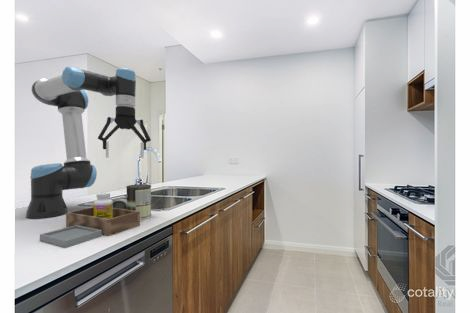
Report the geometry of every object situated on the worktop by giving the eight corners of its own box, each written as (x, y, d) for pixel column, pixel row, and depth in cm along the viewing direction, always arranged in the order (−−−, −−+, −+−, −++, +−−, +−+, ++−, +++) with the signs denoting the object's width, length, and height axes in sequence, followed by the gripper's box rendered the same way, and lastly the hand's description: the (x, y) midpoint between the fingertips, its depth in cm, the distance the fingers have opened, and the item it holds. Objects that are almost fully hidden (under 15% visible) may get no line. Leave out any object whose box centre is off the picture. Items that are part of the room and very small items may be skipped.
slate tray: (39, 240, 82) (39, 234, 82) (76, 230, 92) (76, 225, 92) (65, 247, 76) (65, 241, 76) (101, 235, 86) (101, 230, 86)
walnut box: (66, 226, 97) (66, 212, 97) (99, 218, 109) (99, 205, 109) (108, 235, 86) (108, 219, 86) (139, 225, 99) (139, 211, 99)
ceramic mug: (131, 212, 120) (130, 196, 120) (127, 217, 112) (127, 199, 112) (107, 214, 118) (106, 198, 118) (101, 218, 110) (101, 201, 110)
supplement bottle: (93, 229, 93) (93, 195, 93) (94, 225, 99) (93, 192, 99) (113, 227, 97) (113, 193, 96) (112, 222, 102) (112, 191, 102)
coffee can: (122, 220, 106) (122, 187, 106) (131, 214, 116) (130, 184, 116) (147, 220, 107) (147, 187, 107) (153, 214, 117) (153, 184, 117)
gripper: (91, 102, 95) (91, 158, 95) (158, 108, 108) (157, 157, 109) (90, 104, 101) (90, 157, 102) (153, 110, 115) (153, 157, 115)
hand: (125, 157), depth 105 cm, fingers open, 13 cm apart
